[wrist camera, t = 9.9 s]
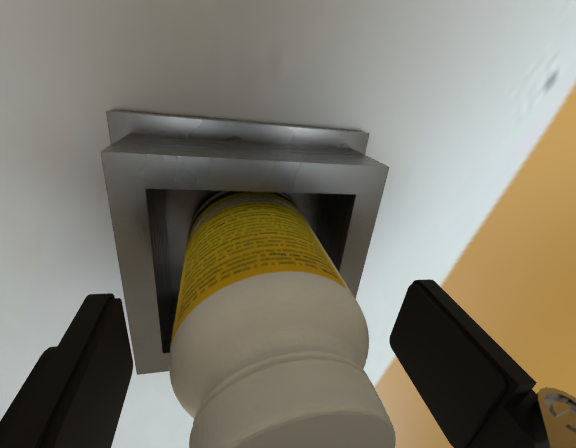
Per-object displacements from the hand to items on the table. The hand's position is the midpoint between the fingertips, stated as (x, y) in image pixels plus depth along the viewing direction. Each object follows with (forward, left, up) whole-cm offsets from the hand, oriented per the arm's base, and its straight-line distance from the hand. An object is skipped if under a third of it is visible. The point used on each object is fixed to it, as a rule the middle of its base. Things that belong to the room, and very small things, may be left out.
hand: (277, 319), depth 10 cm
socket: (+1, 0, -8) cm, 8 cm away
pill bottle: (+1, 0, -7) cm, 7 cm away
